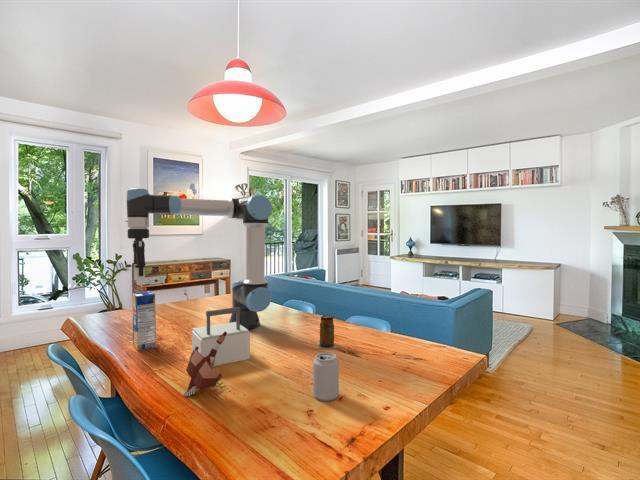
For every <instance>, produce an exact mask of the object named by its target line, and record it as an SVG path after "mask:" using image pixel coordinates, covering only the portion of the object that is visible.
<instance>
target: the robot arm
mask: <svg viewBox="0 0 640 480" xmlns="http://www.w3.org/2000/svg"><path fill="white" fill-rule="evenodd" d="M272 212H273V204H272V202H271V200H270V199H269V198H268V197H266V195H263V194H251V195H247V196H243V197H239V198H238V197H237V198H231V197H230V198H228V199H204V198H203V199H201V198H180V196H179V195H173V194H171V195H170V194H169V195H166V194H165V195H164V194H151V193H149V190H148V189H146V188H140V187H139V188H138V187H135V188H129V189H127V190H126V215H127V216H126V219H125V223H127V228H128V229H127V238H128V239H134V240H133V241H132V242H133V243H132V248H133V249H132V250H133V251H132V252H133V280H134V281H136V285H137V286H143V285H146V267H145V266H146V258H145V257H146V256H145V248H146V247H145V246H146V244H145V241H144V240H143V239H149V238H150V229H149V227H150V217H149V215H150V214H153V215H157V216H170V215H171V216H208V217H210V216H212V217H213V216H215V217H216V216H217V217H228V218H229V219H238V220H242V223H243V226H245V230H246V234H245V235H246V236H245V237H246V242H245V243H246V246H245V247H246V248H245V250H246V251H245V252H246V253H245V254H246V255H245V258H246V259H245V279H244V280H235V281H233V282H232V287H231V289H232V290H231V292H232V294H231V296H232V298H231V299H232V300H231V301H232V303H231V304H232V307H231V308H235V307H240V325H242V326H243V327H245V328H246V329H247V330H251V329H252V330H253V329H256V328H258V327H259V326H260V324H261V322H260V318H259V315H258V313H260V312H264V311H265V310H266V309H267V308H268V307H269V306H270V304H271V302H272V293H271V291H270V290H269V289H268V287H269V286H268V283H269V281H268V280H267V279H266V277H265V274H266V273H265V271H266V270H265V266H266V265H265V263H266V262H265V261H266V259H265V256H266V255H265V254H266V251H265V250H266V248H265V247H266V246H265V245H266V227H267V226H268V225H269V217H271V216H272ZM232 322H236V313H231V315H230V318H229V322H228V323H232Z"/></svg>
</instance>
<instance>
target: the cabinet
mask: <svg viewBox="0 0 640 480" xmlns="http://www.w3.org/2000/svg"><path fill="white" fill-rule="evenodd" d="M218 338H219V337H218ZM218 338H212V339H206V340H202V339H201V338H200V337H199V336H198V335H197V334H196V333H195V332H194V331H193V330H191V353H193V351H194V348H195V347H196V346H197V347H199V349H198V352H199V353H200V354H201V355H202V356H203V357H206V356H208V355H209V353H210V351H211V349H212V347H213V346H214V344H215V343H216V341H217V339H218ZM250 359H251V332H250V331H249V332H248V333H242V334H236V335H230V336H225V340H224V341H223V343H222V344H221V345H220V346H219V348H218V350H217V353H216V356H215V364H214V367H215V366H221V365H225V364H231V363H236V362H241V361H245V360H250Z"/></svg>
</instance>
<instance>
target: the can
mask: <svg viewBox="0 0 640 480" xmlns="http://www.w3.org/2000/svg"><path fill="white" fill-rule="evenodd" d="M337 357H338V356H337V354H335V353H332V352H321V353H320V352H319V353H317V354H315V358H314V359H313V362H312V364H313V365H312V367H313V368H312V369H313V370H312V371H313V373H312V375H313V377H312V378H313V379H312V380H313V382H312V383H313V384H312V386H313V387H312V390H313V391H312V392H313V393H312V394H313V396H314V397H315V398H316V399H317V400H319V401H322V402H331V401H333V400H335V399H336V398H338V396H339V394H340V391H339V389H340V386H339V385H340V384H339V383H340V379H339V378H340V376H339V375H340V372H339V371H340V364H339V362H340V361H339V360H338V358H337Z"/></svg>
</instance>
